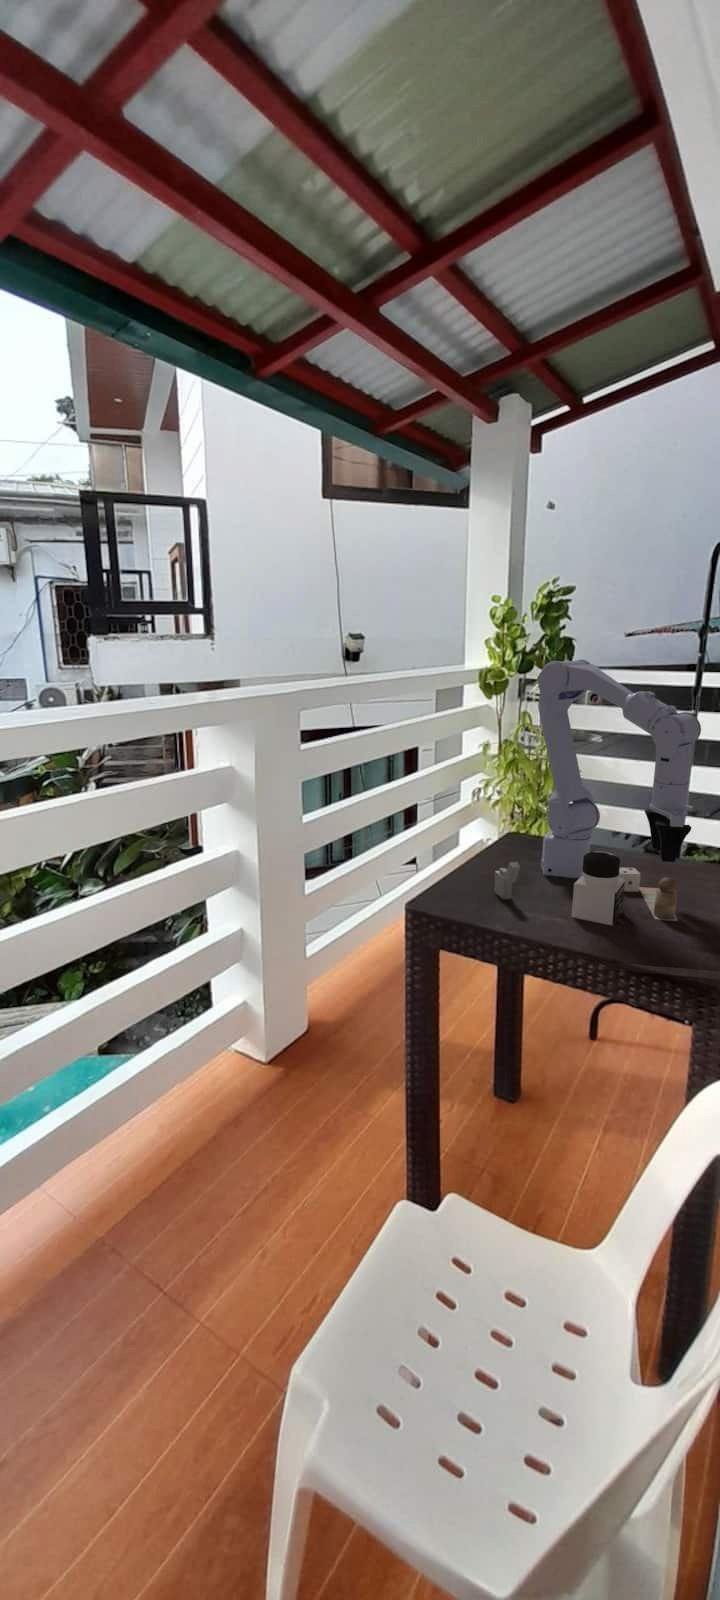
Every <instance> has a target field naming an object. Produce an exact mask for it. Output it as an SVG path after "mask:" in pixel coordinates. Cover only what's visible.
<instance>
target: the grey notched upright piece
mask: <svg viewBox="0 0 720 1600" xmlns="http://www.w3.org/2000/svg"><path fill="white" fill-rule="evenodd" d="M520 871H521V866H520V864H519V862H518V861H511V862H509V863H508V865H507V868H505V867H501V868H499V869H498V870H495V872H494V890H493V892H494V894H496V895H497V896H498V897H499V898H501V899H502V900H511V899H512V891H513V889H512V888H513V886H512V885H513V883H516V882H517V879H518V876H519V873H520Z"/></svg>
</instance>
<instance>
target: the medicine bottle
mask: <svg viewBox="0 0 720 1600" xmlns="http://www.w3.org/2000/svg"><path fill="white" fill-rule="evenodd" d="M620 866H621V859H620V858H619V856H617V855H616V854H613V853H611V852H608V851H600V850H599V851H598V850H596V851H591V852H590V853H587V854H585V855H584V857H583V870H582V876H581V877H580V878H577V880H576V881H575V882H574V884H573V892H572V894H573V895H572V896H573V897H572V904H571V905H572V907H571V918H573V919H579V920H583V921H590V922H594V923H598V924H599V923H600V924H604V925H609V926H615V924H616V922H617V921H618V920H619V918H620V916H621V915H622V913H623V905H624V897H625V896H624V895H625V894H624V893H625V891H624V885H625V880H624V879H621V878H619V868H621V867H620Z"/></svg>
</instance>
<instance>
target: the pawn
mask: <svg viewBox="0 0 720 1600" xmlns="http://www.w3.org/2000/svg"><path fill="white" fill-rule="evenodd" d="M656 888H657V887H656ZM676 889H677V883H676V881H675V880H674V879H673V878H671V877H663V878H661V879H660V881H659V883H658V888H657V889H656V898H655V907H654V916H656V917H658V918H661V919H674V918H675V916H676V910H677V900H678V891H677V890H676ZM654 916H653V917H654Z"/></svg>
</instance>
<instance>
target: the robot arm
mask: <svg viewBox="0 0 720 1600" xmlns="http://www.w3.org/2000/svg"><path fill="white" fill-rule="evenodd" d="M536 678H537V679H536V680H537V685H538V688H539V695H538V696H539V698H538V704H537V706H538V713H539V719H540V723H541V729H542V733H543V738H544V742H545V748H546V749H545V750H546V753H547V758H548V764H549V767H550V775H551V777H552V782H553V789H554V790H553V791H554V792H553V793H552V794H551V796H550V797H549V799H548V800H547V807H548V813H547V819H546V820H547V824H548V827H549V829H550V831H551V832H549V833H547V832H545V833H544V834H543V840H542V856H541V859H540V868H541V869H542V876H551V877H552V876H553V877H563V878H568V879H569V878H571V879H579V878H580V877H581V876H582V870H583V857H584V855H585V854H587V853H590V851H591V850H590V849H591V838H592V834H593V833H594V832H593V829H595V828H596V827H597V826H598V825H599V823H600V819H601V813H600V810H599V808H598V807H599V806H597V804H596V803H595V801H594V798H593V793H592V792H591V791H590V790H588V789H587V788H586V787H585V786H583V782H582V777H581V772H580V768H579V767H580V766H579V764H578V763H579V762H578V758H577V757H578V756H577V752H576V748H575V747H576V746H575V743H574V737H573V734H572V733H573V732H572V727H571V722H570V717H569V712H568V711H569V708H570V707H571V706H572V704H573V702H574V701H576V700H577V699H578V698H579V697H580V696H581V695H583V694H584V693H585V692H586V691H590V692H592V693H593V694H595V695H597V696H599V697H601V698H603V699H604V700H606V701H608V702H610V703H611V704H614V705H615V706H617V707H619V708H621V710H622V716H623V718H624V719H626V720H627V721H629V722H630V723H632V724H633V725H635V726H637V728H640V729H641V730H643V731H644V732H646V733H647V734H649V735H651V738H652V741H653V743H654V745H655V764H654V771H653V772H654V774H653V782H652V794H651V802H650V804H649V808H647V809H645V810H644V813H645V815H646V818H647V820H648V821H647V822H648V825H649V833H650V839H651V840H650V842H651V847H652V849H655V850H656V849H657V850H659V852H660V859H661V862H664V863H667V862H668V863H675V862H676V859H677V857H678V855H679V852H680V849H681V846H682V845H683V842H684V840H685V839H686V837H687V836H688V834H689V833H690V832H691V831H692V826H691V825H690V824H685V818H686V817H685V815H686V813H688V812H693V811H694V809H693V808H694V807H693V806H692V805H689V804H687V799H688V791H689V783H690V782H689V781H690V773H691V766H692V765H691V764H692V755H693V746H694V744H693V743H695V742H696V741H697V740H698V739H699V738H700V736H701V732H702V726H701V722H700V721H699V719H698V718H697V717H696V716H694V714H693V713H692V712H689V711H683V712H678V710H677V707H676V706H674V705H668V704H666V703H664V702H662V701H661V700H660V699H657V698H656V693H654V692H652V691H643V690H642V691H641V690H640V691H637V692H633V691H631V690H630V689H629V688H627V687H626V686H624V685H623V684H621V683H619V682H618V681H617V680H615V678H613V677H611V676H609V675H608V674H606V673H605V672H604V671H602V670H601V669H600V668H599V666H598V665H595V664H594V663H593V664H592V663H591V662H589V661H587V660H585V659H577V660H566V661H564V660H563V661H560V660H559V661H558V660H551V661H549V662H547V663H546V664H545V665H544V666H543V668H542V669H541V670H540V672H539V674H538V676H537V677H536ZM549 869H550V870H549Z"/></svg>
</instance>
